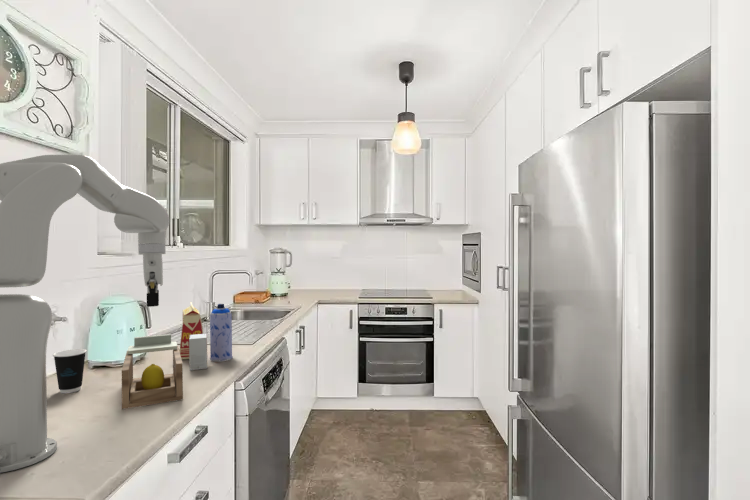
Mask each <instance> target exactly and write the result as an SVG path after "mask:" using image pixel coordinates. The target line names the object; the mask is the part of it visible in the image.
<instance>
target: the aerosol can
mask: <svg viewBox="0 0 750 500" xmlns="http://www.w3.org/2000/svg"><path fill="white" fill-rule="evenodd" d="M232 317H233V314H232V311H231V310H230V309H229V308H227V307H226V306H225V304H224V303H218V304H217V307H215V308H214V309H213V310H212V311H211V312H210V313H209V333H210V334H209V337H210V338H209V340H210V341H209V343H210V345H209V346H210V347H209V349H210V352H209V353H210V358H209V361H211V362H226V361H231V360H232V359H233V357H234V356H233V325H232V324H233V318H232Z"/></svg>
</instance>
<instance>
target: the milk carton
mask: <svg viewBox="0 0 750 500" xmlns="http://www.w3.org/2000/svg"><path fill="white" fill-rule="evenodd" d="M200 313H201V312H200V311H199V309H197V308H196V307H195V306H194V305H193V302H192V301H190V305H189V306H187V307H186V308H184V309H182V325H181V334H180V342H179V351H180V355H181V359H182V360H189V338H190V335H195V334H204V328H203V322H202V317H201V314H200Z"/></svg>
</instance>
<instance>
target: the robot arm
mask: <svg viewBox="0 0 750 500" xmlns="http://www.w3.org/2000/svg"><path fill="white" fill-rule="evenodd" d="M77 195H79V196H81V197H82V198H83V199H84V200H86V201H87V202H89V203H90V204H91V205H92V206H93V207H95V208H96V209H98V210H100V211H102V212H107V213H110V214H114V218H113V220H114V221H113V222H114V225H115V227H116V228H117V229H118V230H119V231H121V232H123V233H126V234H137V239H138V240H137V242H138V245H137V247H138V252H137V253H138V255H142V270H143V281H144V286H145V287H147V288H146V290H147V292H146V307H148V308H149V307H150V308H151V307H152V308H153V307H159V305H160V304H159V303H160V293H159V292H160V291H159V285H160V287H162V286H163V283H164V282H163V281H164V280H163V279H164V278H163V277H164V276H163V274H164V273H163V272H164V271H163V270H164V267H163V255H166V230H167V229H168V228H169V225H170V217H169V214H168V211H167V209H166V208H165V207H164V206H163V205H162V203H161V202H159V201H158V200H157V199H155V198H154V197H153V196H150V195H149V194H147V193H145V192H142V191H138V190H137V189H133V188H131V187H129V186H126V185H123V184H121V183H120V182H119V181H118V179H116V178H115V177H114V176H112V174H110V173H109V172H108V171H107V169H105V168H104V167H103V166H101V165H100V164H99V162H97V161H96V159H93V158H92V157H90V156H88V155H84V154H73V153H72V154H43V155H36V156H32V157H28V158H27V157H26V158H24V159H23V158H22V159H17V160H11V161H6V162H2V163H0V201H1V202H0V288H23V287H26V288H27V287H31V286H35V285H37V284H39V283H40V282H41V281H42V280H43V278H44V276H45V273H46V270H47V269H46V268H47V260H48V249H49V248H48V246H49V236H50V235H49V234H50V228H51V227H50V226H51V220H52V218H53V216H54V213H55V212H56V211H57V210H58V209H59V208H60V207H61V206H62V205H63V204H64V203H66V202H68V201H69V200H71V199H73V198H74V197H75V196H77ZM52 321H53V313H52V308H51V307H50V304H49V303H48V302H47V301H45V300H44V299H43V298H40V297H38V296H35V295H30V294H19V293H18V294H17V293H15V294H12V293H11V294H10V293H9V294H0V473H6V472H12V471H16V470H20V469H24V468H26V467H29V466H32V465H34V464H37V463H39V462H41V461H43V460H45V459H47V458H49V457H50V456H51V455H53V454H54V453H55V452H56V451H57V448H58V443H57V441H56V439H54V438H52V437H51V438H50V437H48V417H47V416H48V414H47V413H48V409H47V406H48V403H47V399H48V398H47V397H48V395H47V391H48V389H47V351H48V350H47V349H48V348H47V347H48V340H49V335H50V330H51V327H52Z"/></svg>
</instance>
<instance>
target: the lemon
mask: <svg viewBox="0 0 750 500" xmlns="http://www.w3.org/2000/svg"><path fill="white" fill-rule="evenodd" d="M164 375H165V372H164V370H163V368H162V367H161V366H159V365H157V364H155V363H151V364H150V365H148V366H147V367H145V369H144V370H143V372H142V374H141V377H140V378H141V382H142V386H143V388H144V389H145V390H148V389H155V388H161V386H162V385H163V382H164Z"/></svg>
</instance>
